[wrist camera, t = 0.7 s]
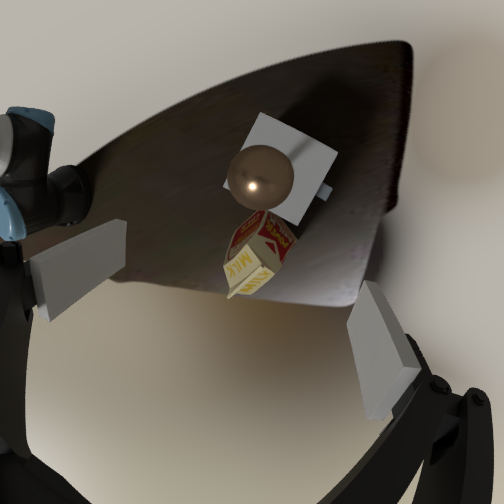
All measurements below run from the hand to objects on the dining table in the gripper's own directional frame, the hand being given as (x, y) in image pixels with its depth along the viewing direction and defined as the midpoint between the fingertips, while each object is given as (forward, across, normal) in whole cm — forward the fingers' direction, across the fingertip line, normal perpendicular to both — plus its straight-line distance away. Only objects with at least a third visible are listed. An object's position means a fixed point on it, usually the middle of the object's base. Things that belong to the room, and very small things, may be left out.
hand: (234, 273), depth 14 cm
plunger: (+28, 0, +5) cm, 28 cm away
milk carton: (+38, 0, -9) cm, 39 cm away
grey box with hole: (+37, 0, +4) cm, 38 cm away
